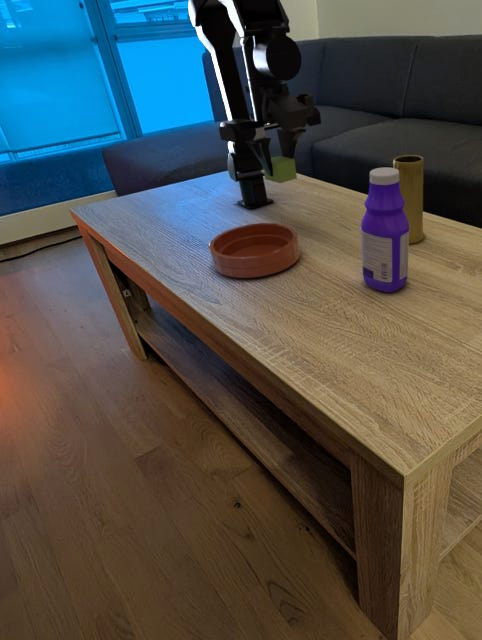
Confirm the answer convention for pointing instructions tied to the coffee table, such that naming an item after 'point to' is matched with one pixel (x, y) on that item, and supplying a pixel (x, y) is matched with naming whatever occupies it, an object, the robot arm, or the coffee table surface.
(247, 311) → the coffee table surface
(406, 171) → the vase
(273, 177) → the sponge
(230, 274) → the bowl
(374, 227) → the bottle
